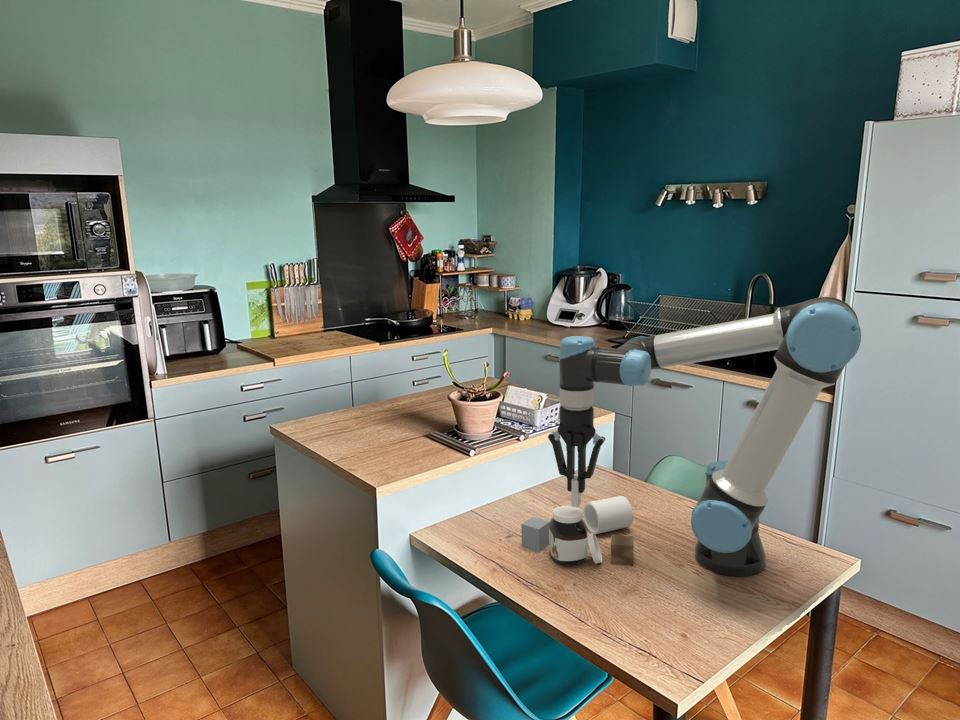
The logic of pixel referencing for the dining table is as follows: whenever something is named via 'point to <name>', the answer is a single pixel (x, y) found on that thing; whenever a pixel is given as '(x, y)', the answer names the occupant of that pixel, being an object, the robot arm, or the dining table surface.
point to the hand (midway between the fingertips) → (576, 504)
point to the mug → (608, 514)
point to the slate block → (535, 534)
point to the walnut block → (622, 550)
